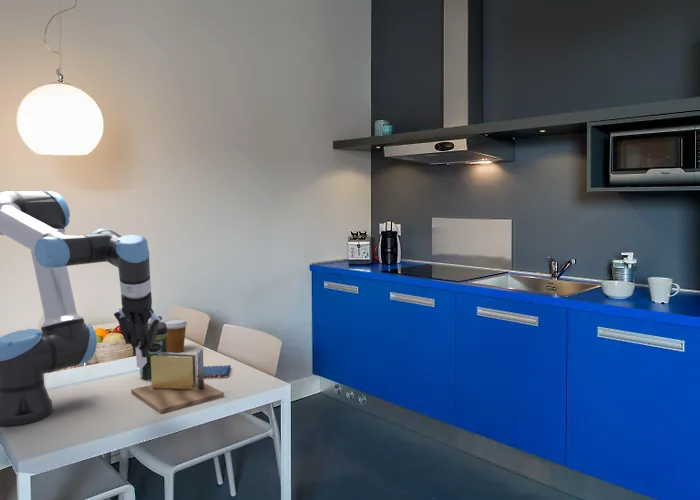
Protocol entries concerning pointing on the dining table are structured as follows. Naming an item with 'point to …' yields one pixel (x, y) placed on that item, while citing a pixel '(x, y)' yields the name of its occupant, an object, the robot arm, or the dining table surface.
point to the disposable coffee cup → (175, 335)
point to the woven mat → (216, 371)
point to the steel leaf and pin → (198, 361)
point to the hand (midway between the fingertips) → (141, 364)
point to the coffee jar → (155, 349)
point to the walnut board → (175, 396)
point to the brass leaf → (172, 372)
